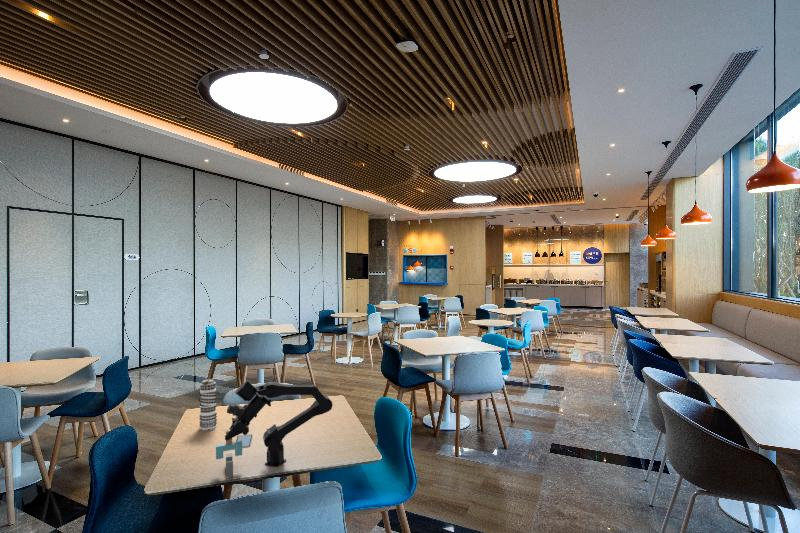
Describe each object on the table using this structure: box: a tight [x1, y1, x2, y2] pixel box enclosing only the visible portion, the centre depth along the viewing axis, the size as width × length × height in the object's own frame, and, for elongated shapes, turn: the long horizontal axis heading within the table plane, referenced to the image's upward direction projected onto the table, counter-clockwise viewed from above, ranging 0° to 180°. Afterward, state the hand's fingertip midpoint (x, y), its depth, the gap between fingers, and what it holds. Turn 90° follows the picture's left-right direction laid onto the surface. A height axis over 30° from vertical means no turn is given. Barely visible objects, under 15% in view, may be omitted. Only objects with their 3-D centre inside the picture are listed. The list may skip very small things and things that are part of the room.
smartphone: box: [235, 433, 254, 449], centre depth 206 cm, size 7×1×15 cm
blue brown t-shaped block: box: [215, 428, 243, 460], centre depth 175 cm, size 10×2×10 cm, turn 113°
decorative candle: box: [198, 378, 218, 431], centre depth 227 cm, size 9×9×25 cm
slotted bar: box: [225, 452, 234, 478], centre depth 174 cm, size 12×2×5 cm, turn 23°
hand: (225, 438), depth 174 cm, fingers closed on blue brown t-shaped block, 2 cm apart
